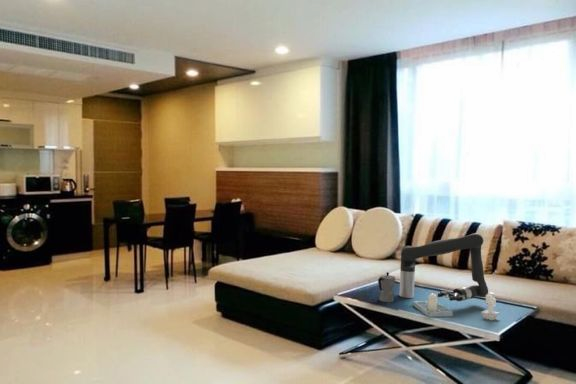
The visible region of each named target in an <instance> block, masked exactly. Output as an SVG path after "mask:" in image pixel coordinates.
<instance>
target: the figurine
mask: <svg viewBox="0 0 576 384" xmlns="http://www.w3.org/2000/svg"><path fill="white" fill-rule="evenodd" d="M485 304H486V305H487V309H485V310H483V311H480V312H481V314H482V316H483V318H484V319H485V320H488V319H489V320H488V321H493V320H496V319H497V317H498V315H500V312H498V311H494V308H496V306H497V300H496V298H495V293H494V292H491V291H488V295H486V297H485Z"/></svg>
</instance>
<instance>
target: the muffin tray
mask: <svg viewBox="0 0 576 384" xmlns="http://www.w3.org/2000/svg"><path fill="white" fill-rule="evenodd" d="M412 306H413V307H414V306H415V308H416V309H417V310H419V311H420V312H422V313H423V314H424V315H425V316H427V317H428V318H429V317H431V318H433V317H453V316H454V311H453V310H451V309H449V308H447V307H446V306H445V305H443V304H442V303H440V302H439V301H437V312H429V311H428V300H425V301H424V300H423V301H422V300H419V301H416V300H415V301H414V300H413V304H412Z"/></svg>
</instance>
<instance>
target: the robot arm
mask: <svg viewBox="0 0 576 384" xmlns="http://www.w3.org/2000/svg"><path fill="white" fill-rule="evenodd" d="M483 244H484V237H483V236H482V235H481V234H479V233H475V232H474V233H471V234H469V235H465V236H462V237H455V238H444V239H439V240H434V241H431V242H427V243H426V244H423V245H420V246H411V245H406V246H404V247H402V249H401V251H400V256H401V257H400V275H399V297H401V298H407V299H411V298H414V297H415V296H414V295H415V279H416V278H415V275H416V273H415V272H416V260H418V259H421V258H425V257H435V256H442V255H446V254H447V255H448V254H451V253H454V252H457V251H461V250H466V249H469V253H470V267H471V279H472V281H474V282H476V283H477V285H475V284H474V285H470V286H466V287H457V288H454V289H453V290H452V291H448V290H440V291H439V293H437V298H443V297H444V298H448V300H449V302H450V301H456V302H462V301H468V300H472V299H474V298H486V295H488V292H489V288H488V285H487V282H486V280H485V272H484V271H485V270H484V265H483V258H482V246H483Z"/></svg>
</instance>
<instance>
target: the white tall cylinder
mask: <svg viewBox="0 0 576 384" xmlns="http://www.w3.org/2000/svg"><path fill="white" fill-rule="evenodd" d="M427 298H428V300H427V301H428V311H429V312H437V302H438V295H437V294H435V293H433V292H432V293H429V295H428V296H427Z"/></svg>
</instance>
